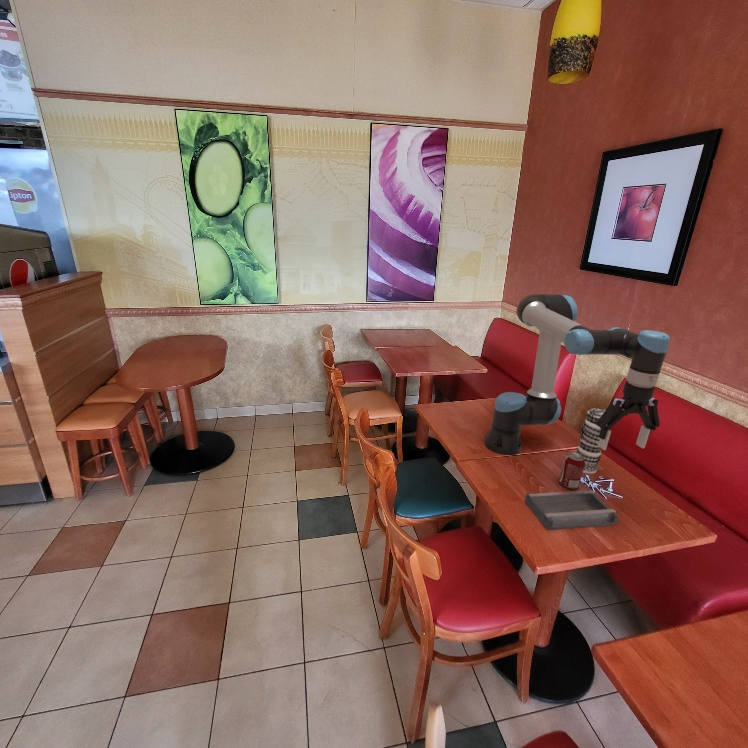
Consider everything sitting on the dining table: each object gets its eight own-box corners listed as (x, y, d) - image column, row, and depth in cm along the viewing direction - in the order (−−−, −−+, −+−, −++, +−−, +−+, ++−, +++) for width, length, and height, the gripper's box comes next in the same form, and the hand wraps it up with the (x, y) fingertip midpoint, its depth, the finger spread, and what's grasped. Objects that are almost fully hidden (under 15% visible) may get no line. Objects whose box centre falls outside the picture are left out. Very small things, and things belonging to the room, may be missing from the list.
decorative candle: (599, 476, 155) (615, 417, 147) (573, 470, 158) (587, 412, 150) (596, 464, 163) (612, 408, 155) (571, 459, 166) (585, 403, 158)
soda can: (580, 491, 145) (588, 462, 141) (560, 488, 146) (568, 459, 142) (575, 480, 152) (583, 452, 148) (556, 477, 153) (563, 450, 149)
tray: (524, 501, 138) (526, 491, 136) (587, 497, 142) (590, 487, 141) (547, 530, 125) (550, 519, 124) (616, 524, 129) (619, 514, 128)
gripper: (611, 389, 113) (593, 454, 120) (687, 388, 117) (665, 451, 124) (593, 379, 120) (577, 442, 127) (666, 378, 124) (646, 439, 131)
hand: (621, 447), depth 126 cm, fingers open, 13 cm apart
